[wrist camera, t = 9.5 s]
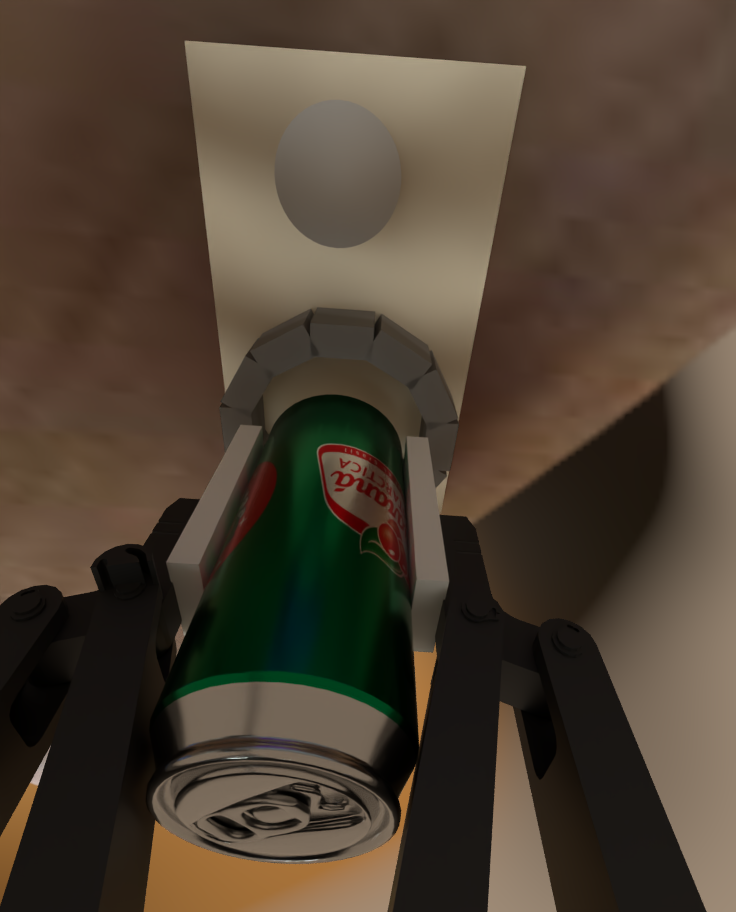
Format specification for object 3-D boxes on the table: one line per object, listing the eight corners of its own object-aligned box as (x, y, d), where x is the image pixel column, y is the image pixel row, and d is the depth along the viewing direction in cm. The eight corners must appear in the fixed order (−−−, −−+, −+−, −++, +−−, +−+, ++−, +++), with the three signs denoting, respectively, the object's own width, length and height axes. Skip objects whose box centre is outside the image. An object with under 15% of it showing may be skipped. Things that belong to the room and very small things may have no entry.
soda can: (425, 465, 18) (473, 846, 8) (320, 515, 20) (253, 886, 10) (356, 361, 16) (305, 710, 6) (243, 427, 18) (53, 791, 7)
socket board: (198, 48, 14) (92, -13, 9) (516, 72, 15) (589, 24, 9) (243, 485, 24) (203, 577, 18) (438, 498, 24) (453, 594, 19)
